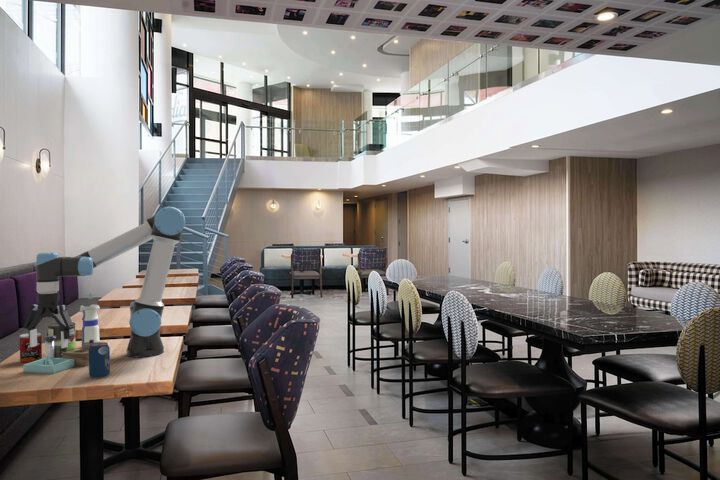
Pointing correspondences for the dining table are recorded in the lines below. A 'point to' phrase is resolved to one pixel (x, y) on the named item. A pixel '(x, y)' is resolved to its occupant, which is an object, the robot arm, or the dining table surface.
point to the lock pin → (49, 349)
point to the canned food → (30, 349)
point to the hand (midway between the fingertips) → (49, 347)
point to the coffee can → (56, 331)
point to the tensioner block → (80, 354)
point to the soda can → (99, 360)
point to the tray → (48, 366)
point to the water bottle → (90, 322)
